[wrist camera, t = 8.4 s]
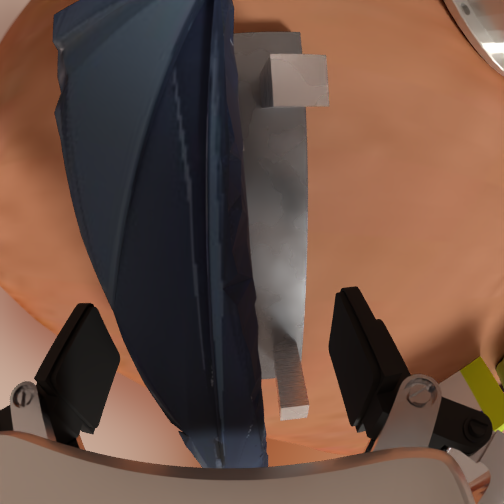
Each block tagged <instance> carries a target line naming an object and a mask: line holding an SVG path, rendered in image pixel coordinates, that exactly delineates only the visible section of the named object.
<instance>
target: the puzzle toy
mask: <svg viewBox="0 0 504 504" xmlns="http://www.w3.org/2000/svg"><path fill="white" fill-rule="evenodd" d="M439 386H440V388H441V392H442V397H445V398H447V399H450V400H452V401H455V402H457V403H460V404H462V405H465V406H468V407H470V408H473V409H476V410H478V411H481V412H483V413H485V414H486V415H487V416H488V417H489V418H490V420H491V422H492V427H493V431H495V432H496V431H497V430H499V431H501V432H502V431H503V430H504V393H503V391H502V390H501V388H500V386H499V385H498V383H497V381H496V380H495V378H494V377H493V375H492V373H491V372H490V370H489V369H488V367H487V366H486V364H485V363H484V361H483V359H482V358H481V356H480V357H478V358H477V359H475V360H474V361H473V362H471V363H470V364H468V365H467V366H465V367H464V368H463V369H461V370H460V371H458V372H456V373H455V374H453V375H452V376H450V377H449V378H447V379H446V380H444V381H442V382H441V383H439Z"/></svg>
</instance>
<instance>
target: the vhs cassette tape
mask: <svg viewBox="0 0 504 504" xmlns="http://www.w3.org/2000/svg"><path fill="white" fill-rule="evenodd" d="M233 31H234V6H233V2H232V0H79V1H77V2H75V3H73V4H72V5H70V6H68V7H66V8H65V9H63V10H61V11H60V12H58V13H56V14H55V15H54V22H53V43H54V45H55V46H56V48H57V50H58V81H59V85H60V90H61V95H60V98H59V100H58V103H57V106H56V109H55V112H54V113H55V118H56V122H57V127H58V131H59V135H60V139H61V146H62V152H63V158H64V164H65V169H66V175H67V180H68V184H69V189H70V194H71V198H72V202H73V206H74V210H75V214H76V218H77V222H78V226H79V229H80V233H81V236H82V239H83V242H84V245H85V247H86V250H87V252H88V255H89V258H90V260H91V263H92V265H93V268H94V270H95V272H96V275H97V277H98V279H99V282H100V284H101V286H102V289H103V291H104V293H105V295H106V297H107V299H108V302H109V304H110V306H111V308H112V310H113V312H114V315H115V318H116V321H117V324H118V327H119V330H120V333H121V335H122V338H123V341H124V343H125V345H126V347H127V349H128V352H129V354H130V356H131V358H132V360H133V362H134V364H135V366H136V368H137V370H138V372H139V374H140V376H141V378H142V380H143V382H144V383H145V385H146V386H147V388H148V390H149V391H150V393H151V394H152V396H153V397H154V398H155V400H156V402H157V403H158V405H159V406H160V408H161V409H162V411H163V412H164V413H165V415H166V416H167V418H168V419H169V420H170V422H171V423H172V424H174V425H175V426H176V427H177V428H179V429H180V430H181V431H183V432H180V431H179V434H180V436H181V437H182V439H183V441H184V443H185V445H186V447H187V448H188V449H189V450H190V451H191V453H192V454H193V455H194V457H195V458H196V460H197V461H198V462H199V463H200V465H201V467H202V468H260V467H268V455H267V453H266V447H267V442H266V429H265V423H264V406H263V397H262V389H261V377H262V371H261V365H260V359H259V353H258V321H257V315H256V309H255V301H256V299H257V296H256V291H255V285H254V280H253V272H252V261H251V251H250V237H249V217H248V205H247V194H246V183H245V171H244V160H243V151H245V150H244V145H243V138H242V130H241V121H240V108H239V95H238V71H237V65H236V59H235V53H234V39H233Z"/></svg>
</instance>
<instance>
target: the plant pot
mask: <svg viewBox="0 0 504 504" xmlns="http://www.w3.org/2000/svg"><path fill="white" fill-rule="evenodd" d="M496 372H497V374H498V376H499V378H500V381H501V383H502V385H503V388H504V358H503V360H502V362H500V363H499V364H498V365H497V368H496Z"/></svg>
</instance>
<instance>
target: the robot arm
mask: <svg viewBox="0 0 504 504" xmlns="http://www.w3.org/2000/svg"><path fill="white" fill-rule="evenodd" d="M444 2H445V4H446V6H447V8H448V10H449V11H450V13H451V14H452V16H453V18H454V19H455V21H456V23H457V25H458V26H459V27H460V29H461V30H462V32H463V33H464V35H465V36H466V38H467V39H468V40H469V42H470V43H471V44H472V45H473V47H474V48H475V49H476V51H477V52H478V53H479V54H480V55H481V56H482V58H483V59H484V60H485V61H486V62H487V63H488V64H489V65H490V66H491V67H492V68H493V69H495V70H496V71H497V72H498V73H499V74H501V75H503V76H504V0H444ZM329 353H330V357H331V360H332V363H333V367H334V370H335V373H336V377H337V380H338V383H339V387H340V390H341V394H342V397H343V401H344V404H345V408H346V411H347V415H348V419H349V422H350V425H351V426H356V430H357V433H358V432H363V431H366V434H367V437H369V438H370V440H369V442H368V444H367V446H366V448H365V450H364V452H363V453H362V454H357V455H351V456H346V457H341V458H336V459H331V460H324V461H318V462H310V463H303V464H295V465H286V466H275V467H260V468H193V467H180V466H179V467H178V466H169V465H160V464H152V463H145V462H138V461H132V460H127V459H121V458H116V457H111V456H107V455H102V454H98V453H94V452H90V451H86V450H85V448H84V445H83V443H82V440H81V438H80V435H79V433H80V430H81V431H82V432H86V433H90V434H94V430H95V428H97V427H98V425H99V422H100V419H101V416H102V412H103V409H104V406H105V403H106V400H107V397H108V394H109V391H110V388H111V385H112V382H113V379H114V376H115V373H116V371H117V368H118V365H119V362H120V355H119V352H118V350H117V348H116V347H115V345H114V343H113V341H112V339H111V337H110V335H109V333H108V331H107V328H106V326H105V324H104V322H103V320H102V318H101V316H100V313H99V311H98V309H97V308H96V307H94V305H93V304H91V303H79V304H78V305H77V306H76V307H75V309H74V310H73V312H72V313H71V315H70V317H69V318H68V320H67V321H66V323H65V325H64V326H63V328H62V329H61V331H60V333H59V334H58V336H57V338H56V340H55V341H54V343H53V345H52V346H51V348H50V350H49V352H48V354H47V355H46V357H45V359H44V361H43V363H42V364H41V366H40V368H39V370H38V372H37V374H36V376H35V378H34V379H35V380H36V381H37V385H36V386H35V384H34V383H32V382H27V381H25V382H22V383H20V384H18V385H17V386H16V387H15V388H14V390H13V391H12V393H11V396H10V405H9V406H7V407H6V408H4V409H2V410H0V504H504V433H502V432H501V431H499V430H497V431H496V432H495V431H493V427H492V422H491V420H490V418H489V417H488V416H487V415H486V414H485V413H483V412H481V411H478V410H476V409H473V408H470V407H468V406H465V405H462V404H460V403H457V402H455V401H452V400H450V399H447V398H445V397H442V392H441V388H440V386H439V384H438V383H437V381H435V380H434V379H433V378H432V377H429V376H427V375H423V374H414V375H410V373H409V371H408V368H407V366H406V364H405V362H404V361H403V359H402V357H401V355H400V353H399V351H398V349H397V347H396V345H395V343H394V341H393V339H392V337H391V336H390V334H389V332H388V330H387V328H386V326H385V324H384V323H383V321H382V320H380V319H377V320H376V319H375V317H374V315H373V313H372V311H371V310H370V308H369V306H368V304H367V302H366V300H365V299H364V297H363V295H362V293H361V292H360V290H359V288H358V287H347V288H342V289H341V291H340V292H339V293H336V297H335V305H334V312H333V320H332V326H331V333H330V339H329Z"/></svg>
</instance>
